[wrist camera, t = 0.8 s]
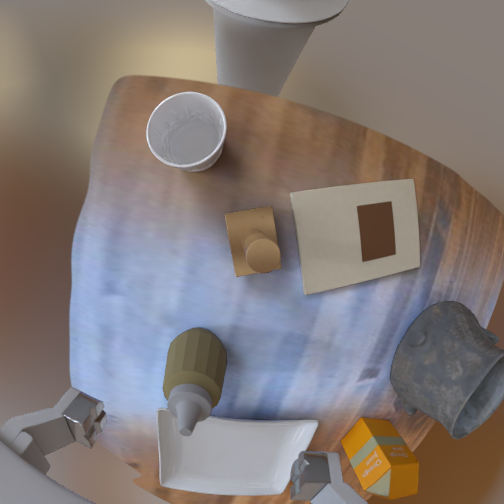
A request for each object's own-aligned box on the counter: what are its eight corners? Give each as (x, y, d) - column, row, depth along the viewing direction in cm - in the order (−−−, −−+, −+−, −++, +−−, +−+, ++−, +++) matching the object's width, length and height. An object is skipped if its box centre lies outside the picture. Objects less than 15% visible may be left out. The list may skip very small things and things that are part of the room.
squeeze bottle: (237, 336, 39) (245, 423, 21) (210, 375, 40) (205, 464, 22) (187, 309, 38) (161, 388, 20) (163, 351, 39) (132, 435, 21)
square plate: (162, 475, 44) (160, 488, 40) (160, 393, 40) (155, 408, 36) (279, 485, 47) (282, 496, 43) (316, 408, 43) (322, 422, 39)
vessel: (351, 392, 43) (400, 470, 24) (407, 280, 40) (496, 324, 21) (424, 397, 46) (473, 449, 26) (471, 307, 43) (539, 342, 24)
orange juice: (361, 416, 45) (404, 487, 25) (389, 419, 46) (432, 480, 26) (339, 441, 46) (372, 512, 26) (368, 443, 47) (403, 505, 27)
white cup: (234, 128, 34) (237, 102, 24) (215, 183, 35) (211, 176, 25) (178, 113, 33) (162, 85, 23) (159, 168, 34) (135, 156, 24)
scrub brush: (224, 212, 36) (223, 218, 23) (267, 205, 36) (288, 207, 23) (234, 269, 37) (239, 303, 25) (276, 261, 38) (300, 291, 25)
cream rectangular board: (289, 192, 36) (291, 192, 35) (410, 178, 37) (413, 178, 36) (303, 293, 39) (305, 295, 38) (416, 265, 40) (420, 266, 39)
